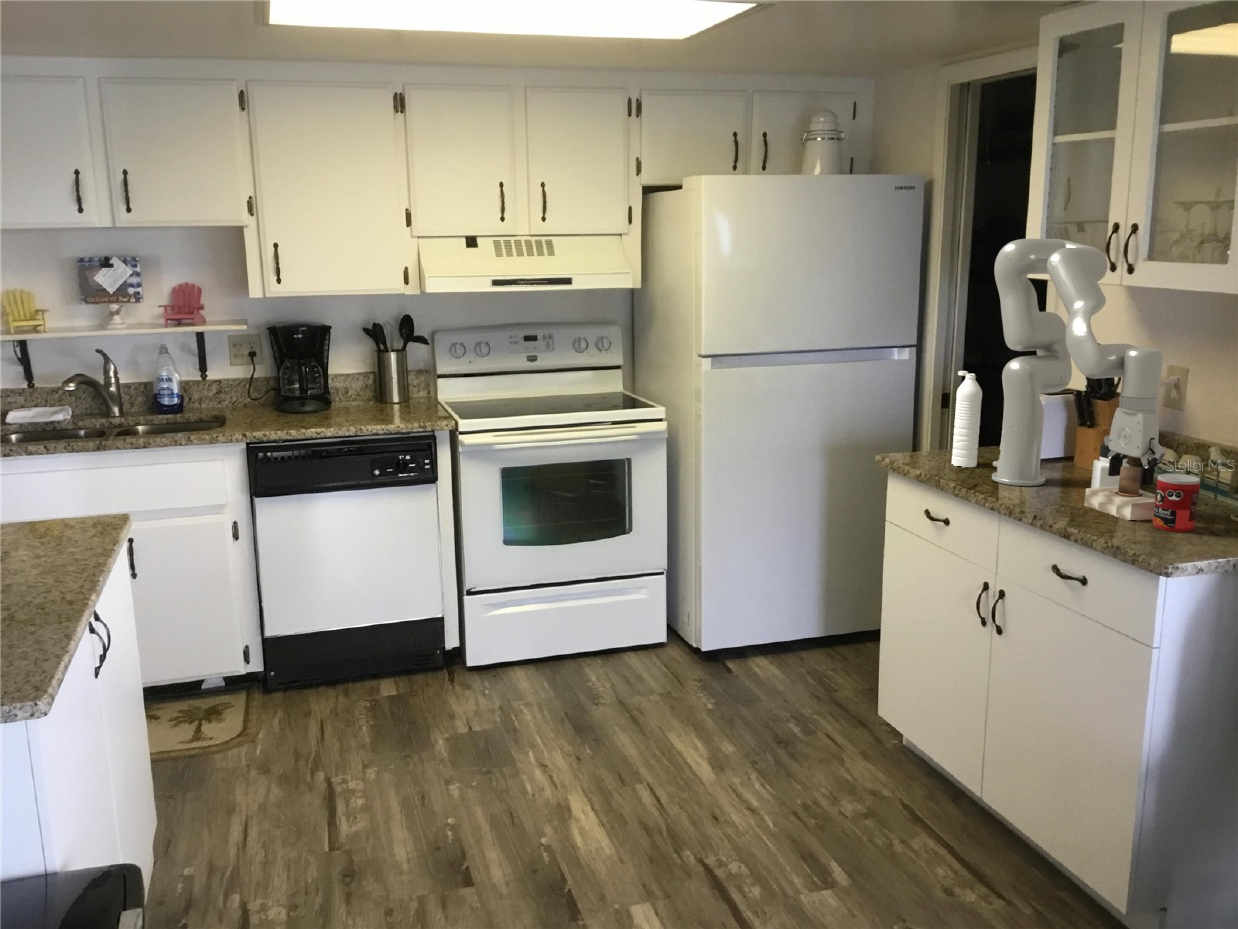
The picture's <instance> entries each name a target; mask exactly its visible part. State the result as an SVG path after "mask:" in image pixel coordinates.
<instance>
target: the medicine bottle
mask: <svg viewBox="0 0 1238 929" xmlns="http://www.w3.org/2000/svg"><path fill="white" fill-rule="evenodd" d="M1128 457H1129V456H1127V455H1122V456H1121V457H1120V458H1123V465H1122V466H1131V465H1130V464H1128V463H1127V462H1128ZM1109 461H1110V458H1108V452H1107V450H1106V445H1105V442H1104V443H1102V444H1100V451H1099V459H1094V460H1093V463H1092V464H1093V465H1092V475H1091V483H1090V488H1100V487H1112V486H1119V479H1120V476H1108V471H1109Z"/></svg>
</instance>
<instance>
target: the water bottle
mask: <svg viewBox="0 0 1238 929" xmlns="http://www.w3.org/2000/svg"><path fill="white" fill-rule="evenodd" d="M957 375H958V376H964V377H965V379H964V380H963V381H962V383H961V384H960V386H959V387H958V388H957V390H956V401H955V411H954V412H955V413H954V414H955V416H954V423H953V425H954V427H953V438H952V439H953V441H952V454H951V455H952V456H951V465H952V464H953V465H952V466H954V467H957V466H962V467H961V468H967V467H968V468H967V469H969V467H970V468H975V467H977V464H978V449H979V435H980V425H981V411H982V410H981V409H982V398H983V390H982V388H981V386H980V385H979V383H978V382H977V380H976V378H977V376H976V374H975V373H969V371H966V370H960V371H959V370H958V372H957Z"/></svg>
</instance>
